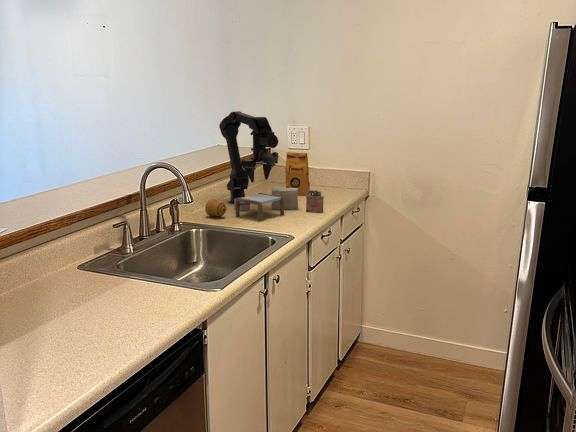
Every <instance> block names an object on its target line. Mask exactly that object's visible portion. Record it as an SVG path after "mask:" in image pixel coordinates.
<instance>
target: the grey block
mask: <svg viewBox="0 0 576 432" xmlns="http://www.w3.org/2000/svg"><path fill="white" fill-rule="evenodd" d="M271 195H275V196H280V197H284V210H298V209H299V196H298V188H286V187H272V188H271ZM271 210H280V200H278V201H274V202H271Z"/></svg>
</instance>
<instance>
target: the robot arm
mask: <svg viewBox="0 0 576 432" xmlns="http://www.w3.org/2000/svg"><path fill="white" fill-rule="evenodd" d="M242 124H244V125H247V126H248V128H249V129H250V130H252V131H251V132H250V136H252V148H251V147H250V151H252V157H250V159H248V158H247V159H241V155H240V154H241V153H240V149H239V144H238V140H237V139H238V138H237V137H238V135H239V128H240V126H241V125H242ZM219 130H220V133H221V134H220V135H221V136H222V137H223V138H224V139H225V141H226V147H227V151H228V157H229V161H230V166H231V172H230V174H229V181H228V183H227V184H226V189H227V191H230V200H228V201H227V202H228V203H230V204H234V199H236V198H241V197H246V194H245V190H248V187H249V183H254V182H255V171H256V169H257V167H256V166H257V165H262V169H263V175H264V179H265V180H266V181H268V179H269V176H270V173H271V171H272V168H274V167H275V166H276V165H277V164H279V161H278V160H279V152H278V151H277V152H276V151H273V152H269V149H275V148H277V146H278V145H279V139H278V136H277V135H275V131H273V129H272V127H271V124H270V121H269V120H268V118H267V117H266V116H254V115H250V114H247V113H244V112H242V111H241V110H240V111H231V112H230V113H229V114H228V115H227V116H225V117H224V118H223V119H222V120H221V121H220V123H219Z"/></svg>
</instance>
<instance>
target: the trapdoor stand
mask: <svg viewBox="0 0 576 432" xmlns="http://www.w3.org/2000/svg"><path fill="white" fill-rule="evenodd" d="M257 194H264V195H269V196H275V195H272V194H270V193H269V194H268V193H262V192H259V193H257ZM275 197H280V196H275ZM240 202H241V203H240ZM246 204H250V205H254V206H257V216H258V217H257V222H260V223H261V222H263V204H262V202H258V201H253V200H247V199H242V198H236V210H235V217H237V218H239V217H240V216H241V213H240V212H241V211H240V206H242V205H246ZM279 212H280V213H279V215H280V217H282V216H285V209H284V197H281V200H280V209H279Z"/></svg>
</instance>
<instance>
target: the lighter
mask: <svg viewBox="0 0 576 432" xmlns="http://www.w3.org/2000/svg"><path fill="white" fill-rule="evenodd" d="M308 193H310V194H308V195H306V196H305V198H306V199H305V200H306V203H305V206H306V207H305V209H306V210H305V212H306V213H313V214H323V213H324V198H325V196H324V195H322V191H321V190H318V189H315V190H314V189H310V190H308Z"/></svg>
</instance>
